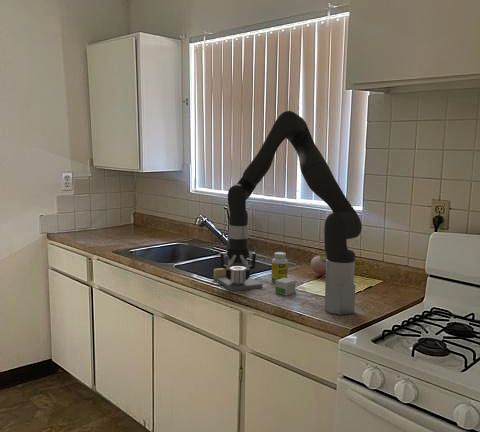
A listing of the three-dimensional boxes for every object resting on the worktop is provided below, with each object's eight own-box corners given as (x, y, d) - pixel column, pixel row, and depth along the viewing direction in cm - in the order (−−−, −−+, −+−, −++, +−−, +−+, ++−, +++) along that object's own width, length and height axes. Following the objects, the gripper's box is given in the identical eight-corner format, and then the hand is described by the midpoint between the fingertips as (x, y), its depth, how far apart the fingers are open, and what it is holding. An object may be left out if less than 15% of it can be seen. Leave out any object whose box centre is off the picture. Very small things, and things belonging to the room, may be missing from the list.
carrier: (262, 287, 191) (262, 268, 190) (231, 291, 185) (231, 271, 184) (242, 276, 207) (242, 259, 206) (213, 279, 202) (213, 261, 201)
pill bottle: (274, 283, 197) (275, 255, 195) (269, 279, 203) (269, 251, 202) (289, 282, 199) (290, 254, 197) (284, 278, 205) (284, 251, 203)
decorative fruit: (307, 274, 213) (307, 251, 212) (324, 273, 215) (325, 250, 214) (315, 279, 204) (316, 256, 203) (334, 278, 206) (334, 255, 205)
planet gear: (248, 281, 189) (249, 269, 188) (233, 283, 186) (233, 270, 185) (241, 277, 194) (241, 265, 194) (226, 279, 192) (227, 266, 191)
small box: (274, 292, 185) (274, 279, 184) (284, 289, 189) (284, 277, 188) (286, 296, 181) (286, 283, 180) (295, 292, 185) (296, 280, 184)
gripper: (256, 235, 191) (256, 276, 194) (219, 234, 191) (219, 276, 194) (257, 238, 184) (256, 282, 186) (219, 238, 184) (218, 281, 186)
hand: (237, 278), depth 190 cm, fingers closed on planet gear, 6 cm apart
